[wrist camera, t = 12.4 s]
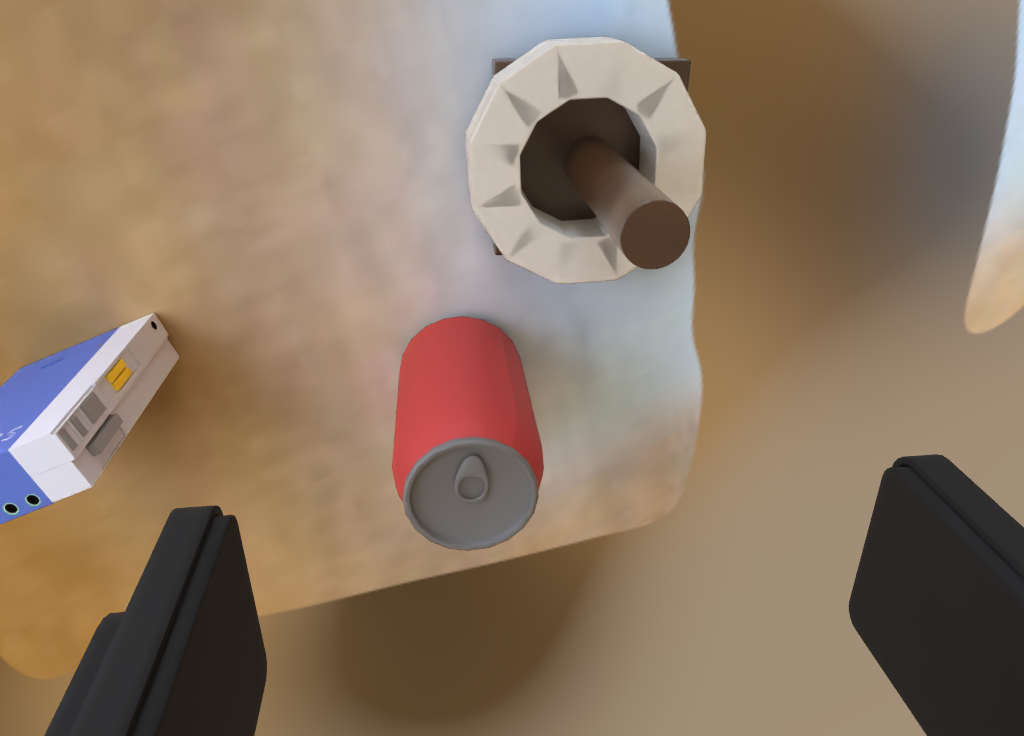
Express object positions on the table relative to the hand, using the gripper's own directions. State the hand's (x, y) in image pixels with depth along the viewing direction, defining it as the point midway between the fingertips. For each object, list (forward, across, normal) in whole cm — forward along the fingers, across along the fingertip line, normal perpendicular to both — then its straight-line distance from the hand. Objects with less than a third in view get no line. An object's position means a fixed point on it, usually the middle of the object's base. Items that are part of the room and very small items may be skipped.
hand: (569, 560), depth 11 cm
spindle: (+29, -6, 0) cm, 29 cm away
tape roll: (+28, -5, 0) cm, 28 cm away
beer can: (+29, 0, +12) cm, 31 cm away
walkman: (+29, +19, +10) cm, 36 cm away
